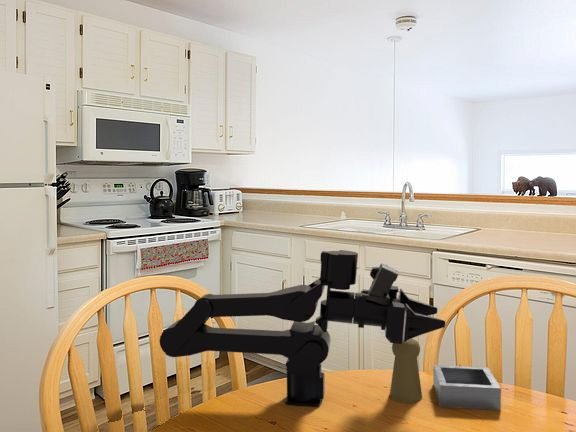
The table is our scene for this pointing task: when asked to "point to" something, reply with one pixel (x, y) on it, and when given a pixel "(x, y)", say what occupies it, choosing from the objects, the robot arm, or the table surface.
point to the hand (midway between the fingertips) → (440, 316)
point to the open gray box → (466, 387)
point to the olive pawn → (406, 372)
